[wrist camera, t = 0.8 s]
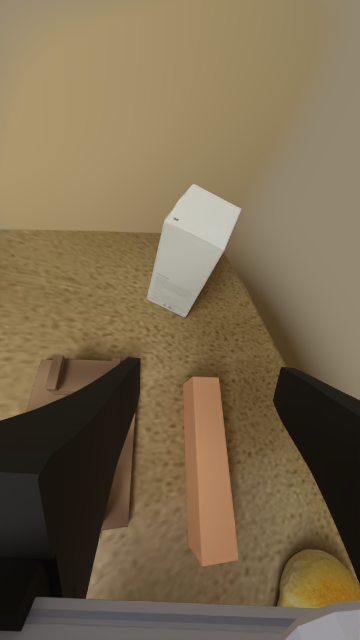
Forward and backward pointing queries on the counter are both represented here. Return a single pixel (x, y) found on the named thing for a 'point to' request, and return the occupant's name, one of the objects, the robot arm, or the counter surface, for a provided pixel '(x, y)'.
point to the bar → (207, 474)
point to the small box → (190, 248)
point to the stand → (65, 379)
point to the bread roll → (316, 581)
